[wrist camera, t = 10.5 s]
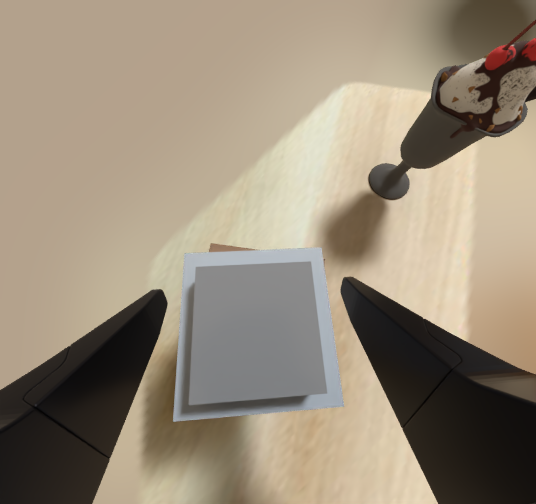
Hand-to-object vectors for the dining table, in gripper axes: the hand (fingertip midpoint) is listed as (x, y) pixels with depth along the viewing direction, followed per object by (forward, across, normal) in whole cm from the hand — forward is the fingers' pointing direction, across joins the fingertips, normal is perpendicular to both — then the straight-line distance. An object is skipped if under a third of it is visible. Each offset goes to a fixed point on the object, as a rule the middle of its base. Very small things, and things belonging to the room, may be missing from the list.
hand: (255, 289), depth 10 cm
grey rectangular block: (+4, 0, +7) cm, 8 cm away
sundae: (+16, -17, -2) cm, 23 cm away
